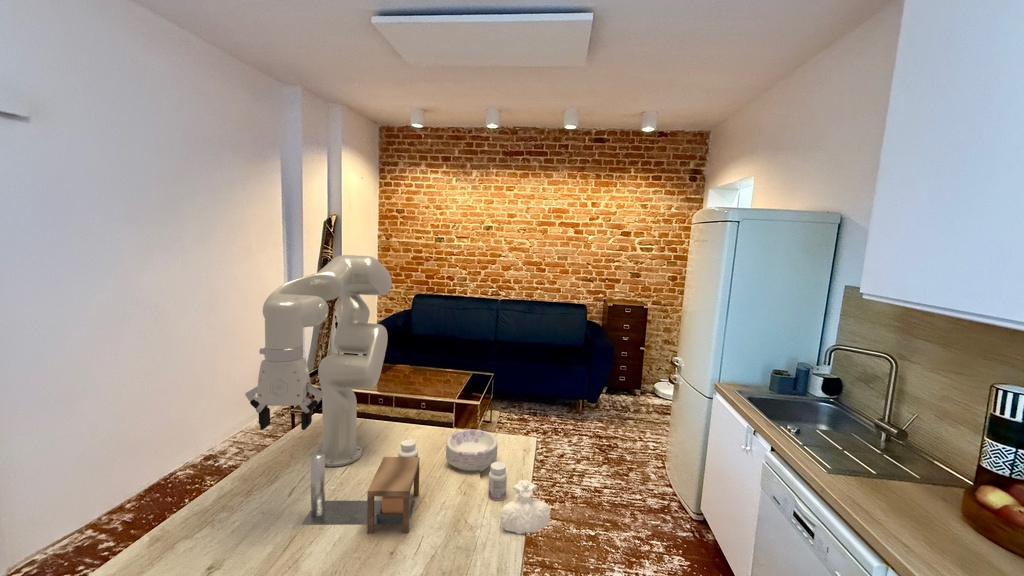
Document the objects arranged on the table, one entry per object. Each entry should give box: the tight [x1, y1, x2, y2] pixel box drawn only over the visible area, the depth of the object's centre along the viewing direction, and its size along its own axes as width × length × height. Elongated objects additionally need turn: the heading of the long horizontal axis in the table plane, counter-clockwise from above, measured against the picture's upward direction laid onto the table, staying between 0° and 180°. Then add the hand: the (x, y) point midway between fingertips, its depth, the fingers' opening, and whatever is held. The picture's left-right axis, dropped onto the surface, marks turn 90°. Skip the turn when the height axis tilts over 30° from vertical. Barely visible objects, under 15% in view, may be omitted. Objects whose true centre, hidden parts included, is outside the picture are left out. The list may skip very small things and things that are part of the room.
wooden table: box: [366, 456, 421, 534], centre depth 101 cm, size 30×23×11 cm
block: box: [381, 496, 403, 514], centre depth 101 cm, size 5×5×5 cm
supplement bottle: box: [397, 439, 419, 457], centre depth 119 cm, size 5×5×10 cm
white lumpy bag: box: [499, 479, 551, 535], centre depth 100 cm, size 12×8×11 cm
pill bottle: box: [487, 461, 508, 501], centre depth 111 cm, size 5×5×8 cm
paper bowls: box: [445, 429, 498, 473], centre depth 126 cm, size 15×15×8 cm
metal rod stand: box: [301, 451, 416, 526], centre depth 100 cm, size 24×9×15 cm, turn 94°
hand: (285, 427), depth 98 cm, fingers open, 8 cm apart
